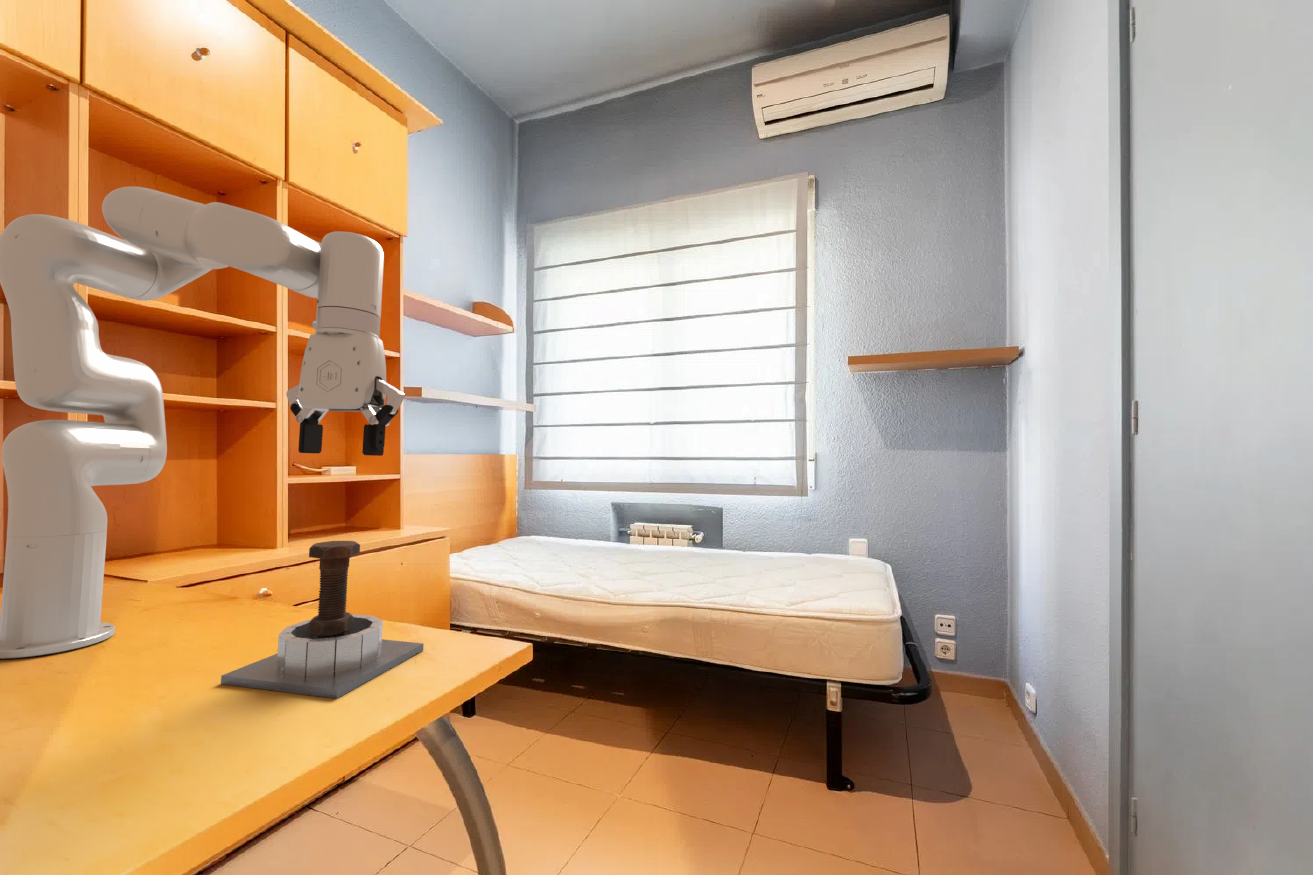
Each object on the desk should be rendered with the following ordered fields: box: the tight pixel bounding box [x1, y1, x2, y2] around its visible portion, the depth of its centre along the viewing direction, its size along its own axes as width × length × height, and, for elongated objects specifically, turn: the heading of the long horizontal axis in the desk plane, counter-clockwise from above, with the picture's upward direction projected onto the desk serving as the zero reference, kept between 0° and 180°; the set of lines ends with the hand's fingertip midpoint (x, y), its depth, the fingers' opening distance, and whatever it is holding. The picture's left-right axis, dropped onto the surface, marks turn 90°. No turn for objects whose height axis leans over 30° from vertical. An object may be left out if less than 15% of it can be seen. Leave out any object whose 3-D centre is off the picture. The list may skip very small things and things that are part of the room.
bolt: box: [308, 540, 361, 639], centre depth 70 cm, size 6×5×15 cm
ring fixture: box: [220, 613, 424, 700], centre depth 70 cm, size 16×16×5 cm
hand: (341, 454), depth 71 cm, fingers open, 9 cm apart
